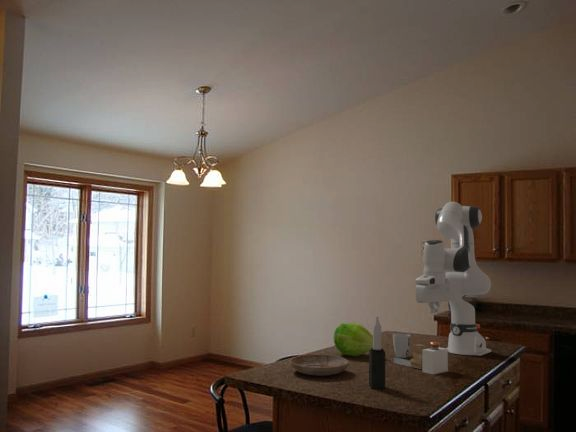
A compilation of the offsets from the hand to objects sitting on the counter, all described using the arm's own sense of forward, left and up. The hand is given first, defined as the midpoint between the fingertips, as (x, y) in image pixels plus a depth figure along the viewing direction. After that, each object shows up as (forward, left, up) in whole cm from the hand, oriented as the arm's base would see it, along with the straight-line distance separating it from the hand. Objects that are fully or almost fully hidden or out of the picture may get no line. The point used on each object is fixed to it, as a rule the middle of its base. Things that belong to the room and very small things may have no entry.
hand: (434, 312), depth 212 cm
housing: (+1, +1, -24) cm, 24 cm away
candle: (+39, +4, -24) cm, 46 cm away
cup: (-12, -27, -24) cm, 38 cm away
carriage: (+1, -7, -24) cm, 25 cm away
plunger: (+1, +1, -18) cm, 18 cm away
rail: (+1, -11, -24) cm, 26 cm away
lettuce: (+5, -41, -24) cm, 48 cm away
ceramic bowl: (+41, -25, -24) cm, 54 cm away
